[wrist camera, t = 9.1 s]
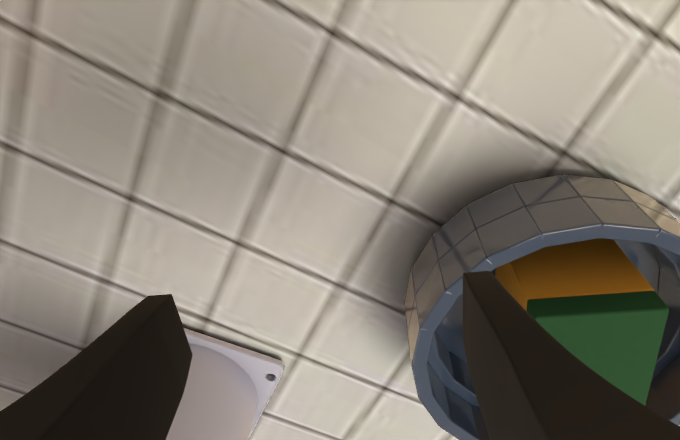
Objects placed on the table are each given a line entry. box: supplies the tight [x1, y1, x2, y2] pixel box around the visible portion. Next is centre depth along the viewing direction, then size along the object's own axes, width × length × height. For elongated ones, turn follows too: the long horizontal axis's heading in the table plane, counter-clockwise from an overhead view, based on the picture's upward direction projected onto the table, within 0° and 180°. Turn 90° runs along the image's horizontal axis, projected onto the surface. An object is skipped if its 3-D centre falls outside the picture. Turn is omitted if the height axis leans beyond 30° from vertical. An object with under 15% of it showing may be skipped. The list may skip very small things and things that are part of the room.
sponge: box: [495, 238, 669, 406], centre depth 21 cm, size 8×4×6 cm, turn 7°
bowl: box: [404, 175, 680, 440], centre depth 22 cm, size 12×12×4 cm
